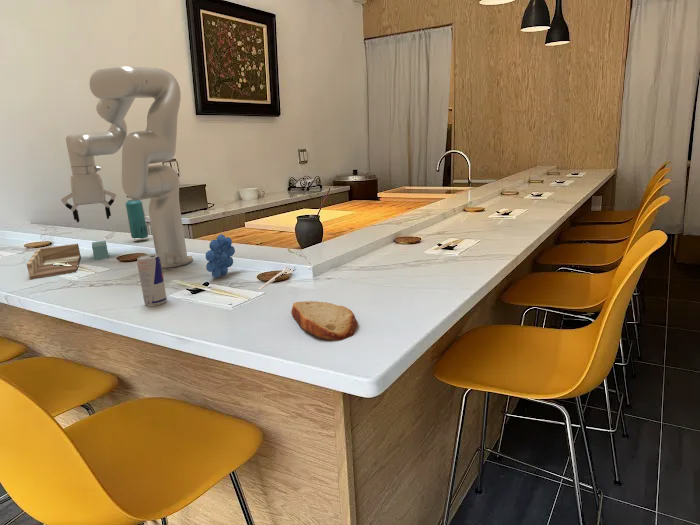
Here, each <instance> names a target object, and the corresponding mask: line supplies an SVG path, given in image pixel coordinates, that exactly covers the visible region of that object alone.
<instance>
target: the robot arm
mask: <svg viewBox="0 0 700 525" xmlns="http://www.w3.org/2000/svg"><path fill="white" fill-rule="evenodd" d="M89 90H90V91H91V93H92V95H93V96H94V97H95V98H97V99H99V100H98V102H97V104H96V107H95V108H96V112H97V114H98V115H99V117H100V118H101V119H102V120H104V121H106V122H107V123H109V124H110V126H109V129H108V130H107V131H101V132H100V131H99V132H87V133H75V134H69V135H68V134H67V135H66V137H65V143H66V148H67V149H66V150H67V153H68V157H69V162H70V163H69V164H70V169H71V173H72V175H70V188H71V189H70V190H71V193H69V194H67V195H65V196H64V197H62V198H61V199H60V201H61V203H62V204H63V205H64V206H65V207H66V208H67V209H69V210H70V211H72V215H73V221H76V223H79V222H80V216H79V215H80V214H79V210H78V209H77V208H78V206H83V205H84V206H85V205H94V204H103V205H104V206H105V207H104V211H105V216H106V219H107V220H109V219H110V217H112V213H111V206H112V205H113V203H114V202H115V200H116V197H117V195H116V193H114V192H111V191H109V190H106V189H104V185H103V184H104V183H103V181H102V178H101V175H100V173H97V172H99V171H101V166H97V165H96V163H95V157H98V156H107V155H109V156H110V155H114V154H116V153H118V152H119V151H120V150H121V184H122V190H123V192H124V194H125V196H126V197H127V196H128V197H129V200H140V201H142V200H143V201H144V200H149V199H150V202H149V204H148V216H149V223H150V229H151V234H152V240H153V245H154V250H155V254H157V255H158V256H159V258H160V262H161V268H162V269H168V268H176V267H181V266H184V265H188V264H190V263H192V262H193V261H194V260H193V256H192V255H190V256H187V255H188V253H187V245H186V240H185V239H186V238H185V233H184V227H183V226H184V225H183V220H182V213H181V212H182V211H181V205H180V178H179V175H178V173H177V171H176V170H175V169H174V168H173V167H171V165H170V166H169V165H165V164H157V163H165V162H169V161H171V160H173V159H174V157H175V155H176V149H177V148H176V147H177V134H178V133H177V132H178V115H179V110H180V105H181V96H182V93H181V88H180V84H179V82H178V80H177V79H176V77H175V76H174V75H173V74H172V73H171V72H169V71H167V70H165V69H162V68H159V67H158V68H157V67H147V66H144V67H143V66H131V65H130V66H128V65H123V66H114V67H106V68H100V69H96V70H95V71H94V72H92V74H91V76H90V78H89ZM136 98H137V99H138V98H139V99H140V98H141V99H143V98H144V99H148V98H149V99H150V98H151V99H152V98H153V99H154V101H153V102H152V104H150V107H149V109H148V112H147V115H146V128H145V130H144V131H143V130H141V131H140V130H139V131H134V132H130V133H129V134H128V127H127V123H126V121H125V117H127V116H126V115H127V114H128V112H129V110H130V108H131V107H132V104H133V103H134V101H135V99H136ZM152 164H154V165H152ZM155 164H156V165H155ZM106 195H107V196H109V197H110V200H109V201H107V200H106ZM70 199H72V201H73V202H72V203H73V205H72V204H70V203H69V202H68V200H70Z"/></svg>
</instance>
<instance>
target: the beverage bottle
mask: <svg viewBox="0 0 700 525" xmlns="http://www.w3.org/2000/svg"><path fill="white" fill-rule="evenodd" d="M127 198H129V197H128V196H127V195H126V199H127ZM124 205H125V209H126V214H127V219H128V220H127V221H128V226H129V231H130V237H131V238H141V239H145V238H147V237H149V233H148V232H149V231H148V225H147V221H146V216H145V210H144V206H143V201H142V200H133V199H130V198H129V200H127V201H126V202H125V204H124Z"/></svg>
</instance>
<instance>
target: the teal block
mask: <svg viewBox="0 0 700 525" xmlns="http://www.w3.org/2000/svg"><path fill="white" fill-rule="evenodd" d="M107 245H108V244H107V241H106V240H101V241H100V240H98V241H93V242H91V247H92V253H93V259H94V261H100V260H106V259H109V258H110V256H109V250H108V246H107Z"/></svg>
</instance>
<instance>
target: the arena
mask: <svg viewBox="0 0 700 525" xmlns="http://www.w3.org/2000/svg"><path fill="white" fill-rule="evenodd" d="M81 257H82V255H81V252H80V246H79V243H73V244H65V245H57V246H50V247H49V246H48V247H43V248H36V250H35V251H34V252H33V254H32V255H31V257H30V258H29V260H28V261H27V263H26V268H27V271H28V276H29V280H34V279H35V280H36V279H41V278H49V277H53V276H54V277H55V276H60V275H61V274H62V275H66V273H68V274H73V273H72V272H75V273H77V272H78V269H77V265H78V264H80V261H81ZM54 263H65V264H67V263H68V264H70V265H72V266H54V265H53V264H54ZM78 266H79V265H78ZM76 271H77V272H76Z"/></svg>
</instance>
